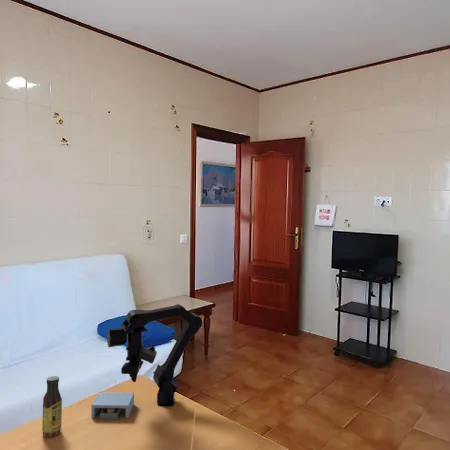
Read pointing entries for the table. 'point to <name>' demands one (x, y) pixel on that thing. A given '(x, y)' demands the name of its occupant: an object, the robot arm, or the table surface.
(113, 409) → the tan rounded dome
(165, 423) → the table surface
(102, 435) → the table surface
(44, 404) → the sauce bottle
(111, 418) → the tray
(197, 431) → the table surface
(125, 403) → the grey small bench
